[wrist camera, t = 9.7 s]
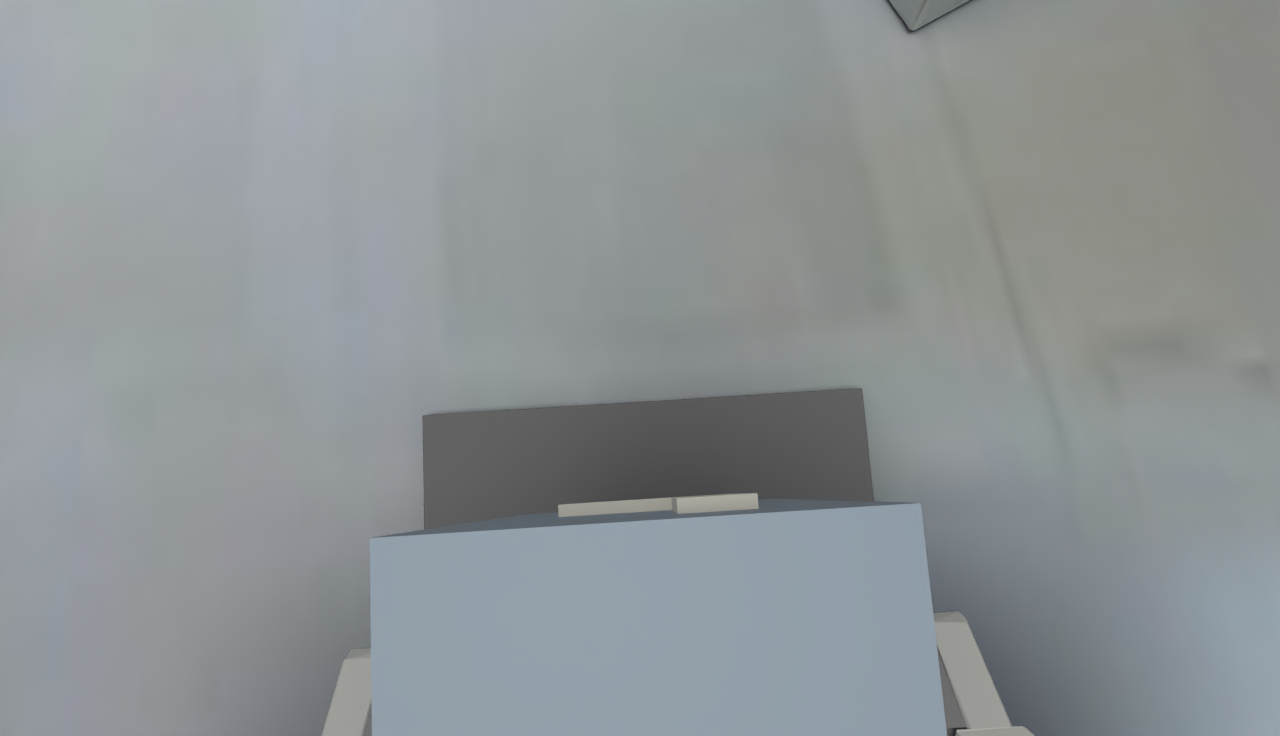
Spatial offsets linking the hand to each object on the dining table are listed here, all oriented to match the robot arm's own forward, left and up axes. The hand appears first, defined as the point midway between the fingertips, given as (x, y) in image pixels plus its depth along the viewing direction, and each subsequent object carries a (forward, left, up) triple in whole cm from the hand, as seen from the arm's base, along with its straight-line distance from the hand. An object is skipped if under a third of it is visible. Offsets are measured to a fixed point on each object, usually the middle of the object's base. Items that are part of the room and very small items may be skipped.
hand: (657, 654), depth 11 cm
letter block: (-1, 0, -5) cm, 5 cm away
